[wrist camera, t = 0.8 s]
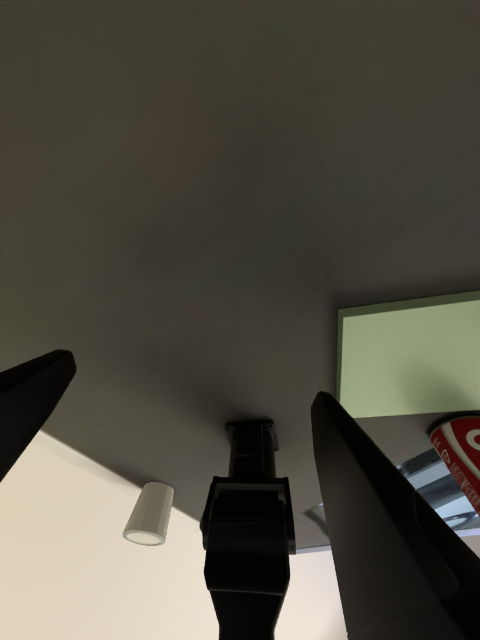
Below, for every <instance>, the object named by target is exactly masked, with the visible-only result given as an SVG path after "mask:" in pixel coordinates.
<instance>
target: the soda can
mask: <svg viewBox="0 0 480 640" xmlns="http://www.w3.org/2000/svg"><path fill="white" fill-rule="evenodd" d="M430 442H431V443H432V445H433V446H434V448H435V449H436V451H437V452H438V454H439V456H440V457H441V459H442V460H443V462H444V463H445V465H446V466H447V468H448V469H449V471H450V472H451V474H452V476H453V477H454V479H455V480H456V482H457V483H458V485H459V486H460V488H461V489H462V491H463V492H464V494H465V495H466V497H467V499H468V500H469V502H470V503H471V505H472V506H473V508H474V509H475V511H476V512H477V514H478V515H479V517H480V416H457V417H452V418H449V419H447V420H445V421H443V422H441V423H440V424H438V425H437V426H436V428H435V429H434V430H433V431H432V432H431V434H430Z"/></svg>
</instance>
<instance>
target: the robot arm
mask: <svg viewBox="0 0 480 640" xmlns="http://www.w3.org/2000/svg"><path fill="white" fill-rule="evenodd" d="M75 373H76V364H75V360H74V357H73V354H72V352H71V351H68V350H61V349H58V350H54V351H52V352H50V353H47V354H45V355H42V356H40V357H37V358H35V359H32V360H30V361H27V362H25V363H22V364H20V365H18V366H15V367H13V368H10V369H8V370H5V371H3V372H0V482H1V481H2V480H3V478H4V477H5V476H6V474H7V473H8V472H9V470H10V469H11V468H12V466H13V465H14V464H15V462H16V461H17V459H18V458H19V457H20V455H21V454H22V453H23V451H24V450H25V449H26V447H27V446H28V445H29V443H30V442H31V441H32V439H33V438H34V437H35V435H36V434H37V432H38V431H39V430H40V428H41V427H42V426H43V424H44V423H45V422H46V420H47V419H48V417H49V416H50V415H51V413H52V412H53V410H54V409H55V407H56V405H57V404H58V402H59V400H60V399H61V397H62V395H63V394H64V392H65V390H66V389H67V387H68V385H69V384H70V382H71V380H72V379H73V377H74V375H75ZM311 421H312V434H313V447H314V456H315V462H316V467H317V473H318V478H319V484H320V489H321V494H322V500H323V505H324V511H325V516H326V522H327V527H328V533H329V538H330V543H331V549H332V554H333V560H334V565H335V571H336V576H337V581H338V587H339V592H340V598H341V603H342V609H343V614H344V619H345V625H346V630H347V633H348V635H347V637H348V640H480V558H479V557H478V556H477V555H476V554H475V553H474V552H473V551H472V550H471V549H470V548H469V547H468V546H467V545H466V544H465V543H464V542H463V541H462V540H461V538H460V537H459V536H458V535H457V534H456V533H455V532H454V531H453V530H452V529H451V528H450V527H449V526H448V525H447V524H446V523H445V521H444V520H443V519H442V518H441V517H440V516H439V515H438V514H437V513H436V512H435V510H434V509H433V508H432V507H431V506H430V505H429V504H428V503H427V502H426V500H425V499H424V498H423V497H422V496H421V495H420V494H419V492H417V491H415V488H414V487H413V486H412V485H411V484H410V482H409V481H408V480H407V479H406V478H405V477H404V476H403V474H402V473H401V472H400V471H399V470H398V469H397V468H396V467H395V465H394V464H393V463H392V462H391V461H390V460H389V459H388V457H387V456H386V455H385V454H384V453H383V452H382V451H381V449H380V448H379V447H378V446H377V445H376V444H375V443H374V442H373V440H372V439H371V438H370V437H369V436H368V435H367V434H366V432H365V431H364V430H363V429H362V428H361V427H360V426H359V425H358V423H357V422H356V421H355V420H354V419H353V418H352V417H351V415H350V414H349V413H348V412H347V411H346V410H345V409H344V408H343V406H342V405H341V404H340V403H339V402H338V401H337V400H336V398H335V397H334V396H333V395H332V394H331V393H328V392H322V391H320V392H318V393H317V395H316V397H315V399H314V401H313V403H312V406H311ZM225 430H226V433H227V435H228V438H229V441H230V443H231V452H230V463H229V474H228V477H218V476H214V477H213V481H212V483H211V485H210V490H209V494H208V498H207V502H206V506H205V510H204V513H203V516H202V518H201V521H200V530H201V532H202V536H203V548H204V550H206V558H205V567H204V576H205V581H206V586H207V589H208V590H209V591H210V594H211V598H212V601H213V604H214V608H215V612H216V616H217V619H218V622H219V640H275V638H274V631H275V627H276V624H277V620H278V617H279V614H280V611H281V608H282V605H283V602H284V599H285V596H286V592H287V589H288V586H289V581H290V565H289V554H292V555H295V554H296V543H295V531H294V521H293V512H292V504H291V496H290V488H289V480H288V477H283V478H276V470H275V454H274V452H275V451H278V450H279V447H278V442H277V437H276V431H275V426H274V422H273V421H256V422H241V423H227V424H226V425H225Z"/></svg>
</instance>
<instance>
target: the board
mask: <svg viewBox="0 0 480 640" xmlns="http://www.w3.org/2000/svg"><path fill="white" fill-rule="evenodd" d="M336 400H337V401H338V402H339V403H340V404H341V405H342V406H343V408H344V409H345V410H346V411H347V412H348V413H349V414H350V415H351V417H352V418H360V417H375V416H391V415H406V414H421V413H436V412H452V411H467V410H480V290H478V291H471V292H463V293H456V294H448V295H441V296H433V297H426V298H418V299H411V300H404V301H396V302H389V303H381V304H374V305H366V306H359V307H351V308H344V309H338V338H337V380H336Z"/></svg>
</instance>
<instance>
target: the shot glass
mask: <svg viewBox="0 0 480 640" xmlns="http://www.w3.org/2000/svg"><path fill="white" fill-rule="evenodd" d="M173 495H174V489H173V488H172V487H171V486H169V485H167V484H164V483H160V482H149V483H146V484H145V485H144V487H143V489H142V491H141V494H140V496H139V498H138V500H137V503H136V505H135V507H134V509H133V512H132V514H131V516H130V518H129V520H128V523H127V525H126V527H125V529H124V532H123V537H124V538H125V539H127V540H129V541H131V542H133V543H137V544H141V545H147V546H157V545H162V544H164V543H165V539H166V533H167V528H168V522H169V517H170V511H171V506H172V500H173Z"/></svg>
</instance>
